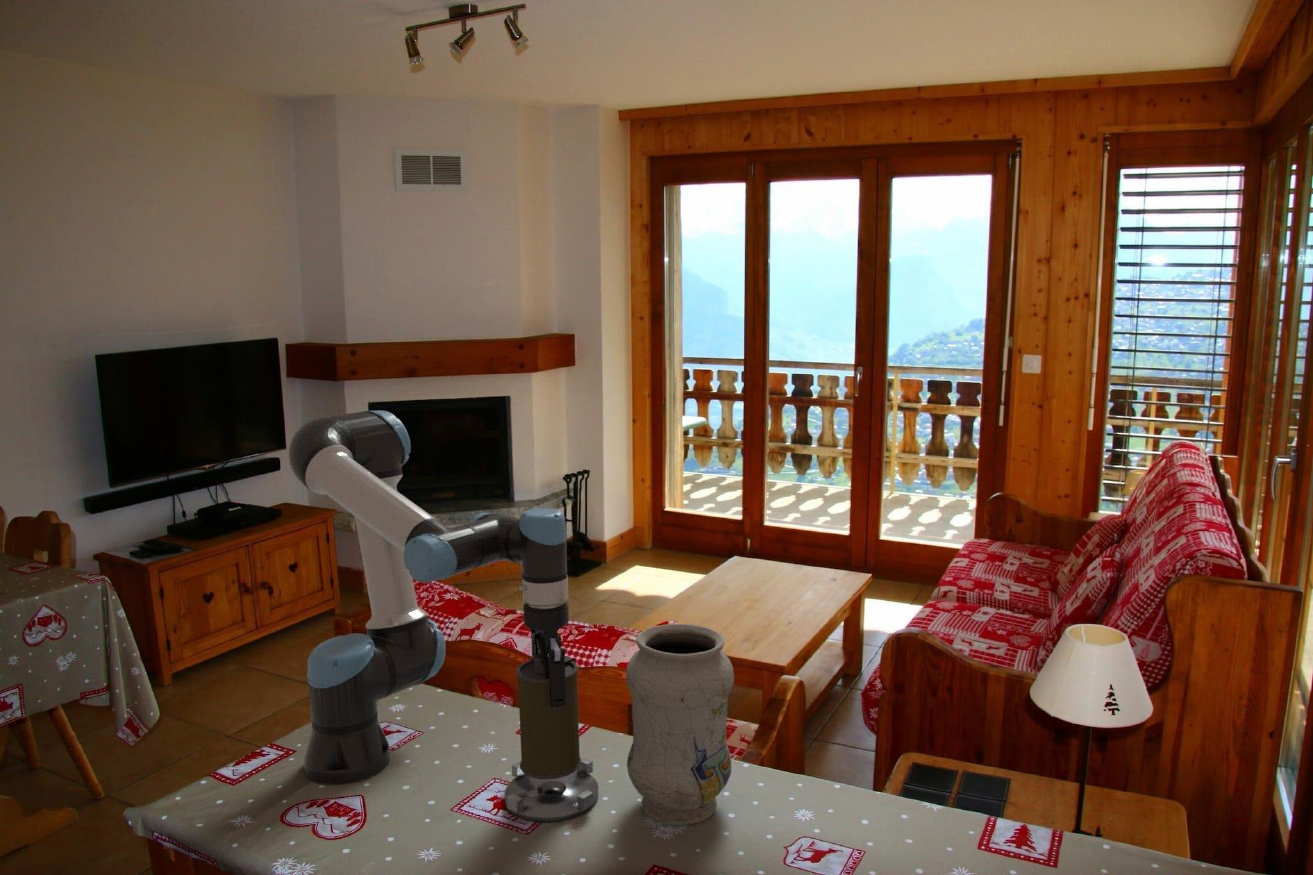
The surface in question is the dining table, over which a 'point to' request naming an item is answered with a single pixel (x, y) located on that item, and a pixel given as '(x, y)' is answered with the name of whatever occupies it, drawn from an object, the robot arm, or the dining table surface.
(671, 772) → the vase
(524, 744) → the canister
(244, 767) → the dining table surface
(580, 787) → the flange
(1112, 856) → the dining table surface
